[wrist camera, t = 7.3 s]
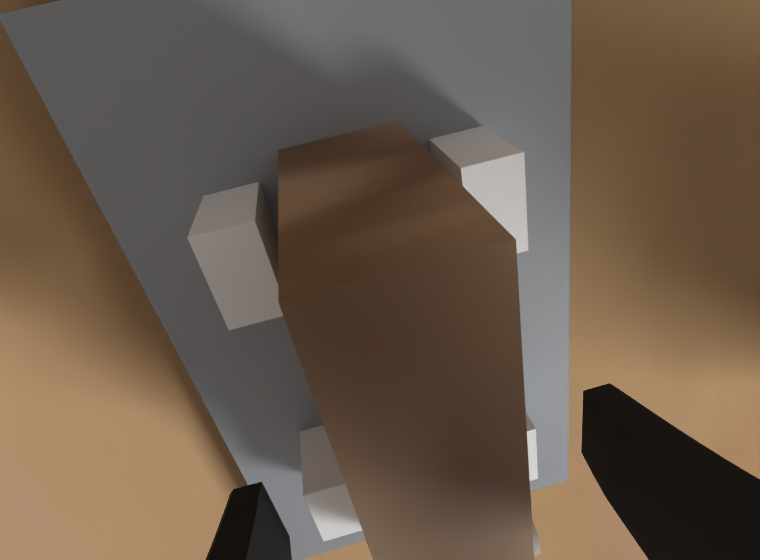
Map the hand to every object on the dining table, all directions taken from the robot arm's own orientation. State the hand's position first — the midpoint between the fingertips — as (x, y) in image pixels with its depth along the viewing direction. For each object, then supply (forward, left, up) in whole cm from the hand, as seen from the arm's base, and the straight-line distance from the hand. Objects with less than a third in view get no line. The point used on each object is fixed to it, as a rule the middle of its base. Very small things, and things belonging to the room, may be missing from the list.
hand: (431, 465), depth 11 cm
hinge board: (0, 0, -6) cm, 6 cm away
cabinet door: (0, 0, -5) cm, 5 cm away
